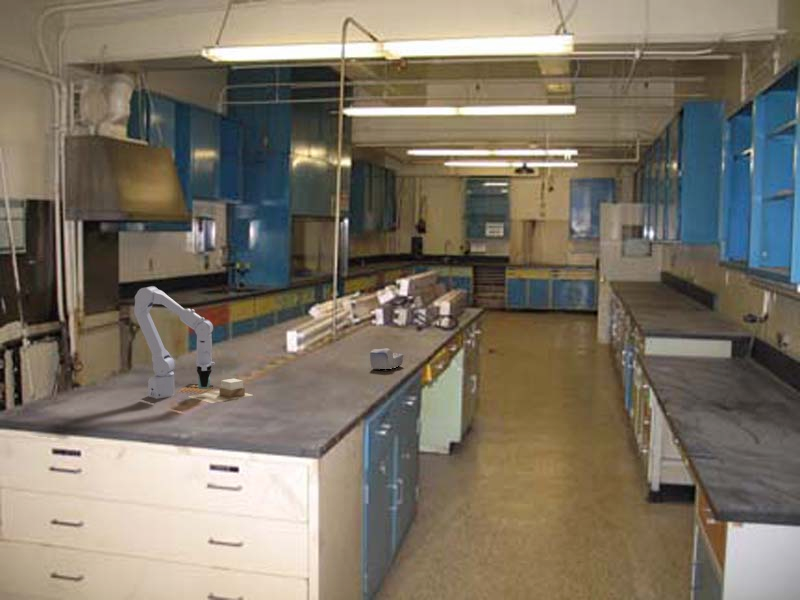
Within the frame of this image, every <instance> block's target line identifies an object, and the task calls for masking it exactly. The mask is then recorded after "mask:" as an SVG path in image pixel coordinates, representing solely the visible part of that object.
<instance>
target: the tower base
mask: <svg viewBox="0 0 800 600" xmlns="http://www.w3.org/2000/svg"><path fill="white" fill-rule="evenodd" d="M245 389H246V388H245V387H243V388H240V389H235V390H227V389H223V388H221V387H219V390H218V391H219V395H220V396H224V397H228V398H234V397H239V396H244V395H245V393H246V392H245V391H246V390H245Z"/></svg>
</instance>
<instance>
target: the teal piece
mask: <svg viewBox="0 0 800 600" xmlns="http://www.w3.org/2000/svg"><path fill="white" fill-rule="evenodd" d="M197 379H198V380H197V384H198V388H199V389H209V388H210V385H211V376H210V375H209V379H208V385H207V387H201V383H200V377H199V375H198V377H197Z"/></svg>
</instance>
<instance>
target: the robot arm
mask: <svg viewBox="0 0 800 600" xmlns="http://www.w3.org/2000/svg"><path fill="white" fill-rule="evenodd" d="M154 305H162V306H164V308H165V307H166V308H167V309H169V310H170V311H172V312H173V313H174V314H176V315H177V316H178V318H179V321H181V322H182V323H184V324H185V325H186V326H187V327H189V328H190V329H192V330H194V332H195V335H196V362H195V365H196V372H197V374H198V376H199V377H200V383H201V387H207V385H208V379H209V376H210V375H211V373H212V365H215V364H216V363H215V361H213V360H212V357H213V356H212V355H213V354H212V352H213V351H212V350H213V349H212V348H213V347H212V345H213V339H212V336H213V335H212V332H213V331H214V325H213V323H212V322H211V321H210V319H205V317H204V316H200V315H199V313H196V310H195V309H193V308H192V309H191V308H184V307H183V306H181V305H180V304H179V303H178V302H176V301H175V300H174V299H172V298H171V297H170V296H169V295H167V293H165V292H164V291H163V290H161V289H158V288H157V287H156V286H154V285H151V286H147V287H141V288H139V290H137V292H136V294H135V296H134V309H133V312H134V316H135V319H136V321H137V323H138V325H139V327H140V330H141V332H142V334H143V336H144V340H145V341H146V344H147V346H148V348H149V349H150V350H149V351H150V352H151V362H152V365H153V366H152V370H153V372H154V376H151V377H149V378H148V381H147V384H148V386H147V388H148V389H147V396H148V397H149V398H153V399H156V400H157V399H163V398H171V397H175V373H174V370H175V368H176V365H177V364H176V363H177V362H176V360H175V359H174V358H173V357H172V356H171V354H170V352H169V351H168V350H167V349H166V348H165V345H164V344H163V341H162V339H161V336H160V334H159V332H158V330H157V327H156V325H155V323H154V321H153V318H152V315H151V313H150V312H151V309H152V307H153V306H154Z"/></svg>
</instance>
